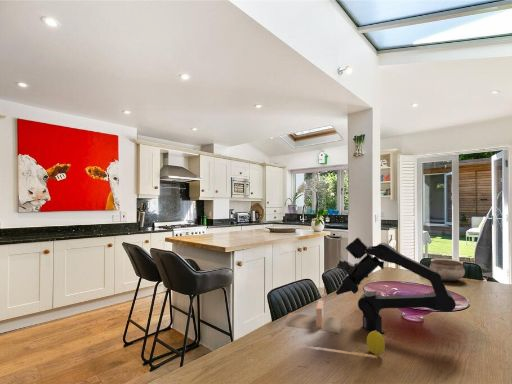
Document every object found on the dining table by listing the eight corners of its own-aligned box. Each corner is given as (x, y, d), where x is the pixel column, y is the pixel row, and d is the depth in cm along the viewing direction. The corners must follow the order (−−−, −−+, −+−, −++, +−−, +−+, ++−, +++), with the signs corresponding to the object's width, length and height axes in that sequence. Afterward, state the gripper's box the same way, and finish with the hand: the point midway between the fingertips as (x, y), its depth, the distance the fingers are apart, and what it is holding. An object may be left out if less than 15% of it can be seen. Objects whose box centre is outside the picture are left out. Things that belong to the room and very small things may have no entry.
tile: (323, 318, 123) (323, 300, 123) (321, 328, 114) (321, 308, 114) (318, 317, 124) (318, 300, 124) (316, 327, 114) (316, 308, 115)
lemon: (369, 349, 99) (369, 325, 99) (387, 355, 95) (386, 330, 96) (364, 356, 94) (363, 331, 95) (382, 362, 91) (381, 336, 91)
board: (340, 320, 123) (340, 318, 123) (340, 334, 110) (340, 332, 110) (289, 314, 129) (289, 312, 129) (282, 327, 116) (282, 325, 116)
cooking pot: (445, 286, 174) (444, 265, 175) (419, 278, 192) (419, 259, 193) (476, 282, 181) (475, 263, 182) (448, 275, 200) (448, 257, 200)
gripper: (350, 249, 126) (324, 273, 129) (347, 256, 108) (318, 284, 112) (370, 268, 123) (343, 293, 126) (371, 279, 105) (340, 307, 109)
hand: (336, 293), depth 118 cm, fingers closed
